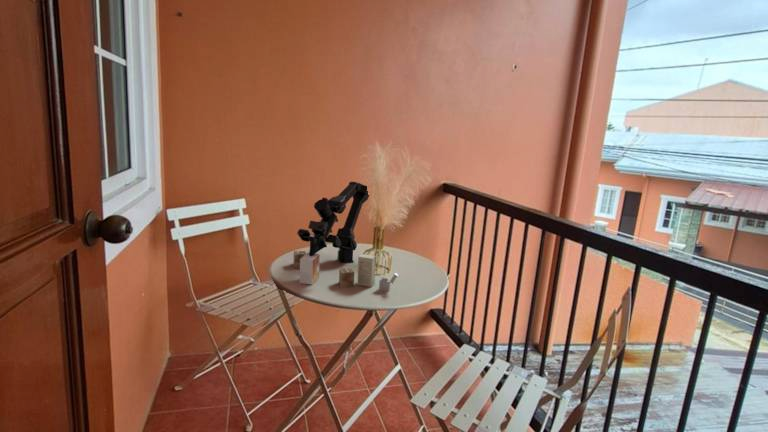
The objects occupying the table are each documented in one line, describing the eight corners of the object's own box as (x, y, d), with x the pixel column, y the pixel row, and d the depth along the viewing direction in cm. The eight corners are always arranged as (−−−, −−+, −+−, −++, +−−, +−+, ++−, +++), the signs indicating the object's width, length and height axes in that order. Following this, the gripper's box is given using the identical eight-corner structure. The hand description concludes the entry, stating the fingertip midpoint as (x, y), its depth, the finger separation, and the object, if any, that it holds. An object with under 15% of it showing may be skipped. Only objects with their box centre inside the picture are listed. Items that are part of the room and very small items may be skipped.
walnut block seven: (304, 263, 181) (305, 250, 180) (306, 267, 177) (306, 254, 175) (293, 263, 180) (293, 250, 178) (294, 267, 175) (295, 254, 174)
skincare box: (374, 283, 164) (376, 255, 161) (371, 287, 160) (373, 258, 157) (360, 280, 166) (362, 253, 163) (356, 284, 162) (358, 256, 159)
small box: (312, 285, 158) (312, 260, 155) (299, 283, 159) (299, 258, 156) (319, 277, 165) (320, 253, 163) (307, 275, 166) (307, 252, 164)
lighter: (378, 290, 158) (380, 271, 156) (379, 288, 159) (381, 270, 157) (396, 293, 156) (397, 274, 154) (397, 291, 158) (398, 272, 156)
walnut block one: (350, 281, 164) (351, 267, 163) (353, 286, 160) (354, 272, 158) (338, 282, 163) (339, 268, 161) (341, 287, 158) (342, 272, 157)
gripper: (300, 209, 164) (282, 240, 157) (339, 216, 157) (322, 249, 149) (310, 224, 173) (294, 255, 165) (347, 232, 166) (332, 263, 158)
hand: (310, 255), depth 159 cm, fingers closed, pressing on small box
